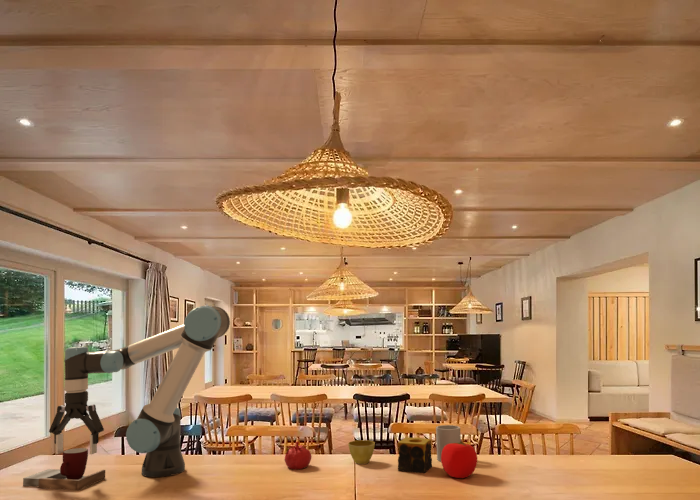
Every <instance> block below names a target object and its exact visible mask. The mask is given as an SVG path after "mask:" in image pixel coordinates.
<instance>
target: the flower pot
mask: <svg viewBox="0 0 700 500" xmlns="http://www.w3.org/2000/svg"><path fill="white" fill-rule="evenodd" d="M375 443H376V442H375V441H373V440H365V439H363V440H361V439H360V440H352V441H350V442H349V441H348V443H347V445H348V449H349V453H350V456H351V458H352V460H353V462H354V463H355V464H358V465H365V464H368V463H369V462H370V460H371V459H372V457H373V453H374V450H375V446H376V444H375Z"/></svg>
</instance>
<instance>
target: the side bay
mask: <svg viewBox="0 0 700 500" xmlns="http://www.w3.org/2000/svg"><path fill="white" fill-rule="evenodd" d="M105 479H106V469H100V470H99V471H96V472H94V473H92V474H88V475H83V476H82V478H81V479H79V480H73V479H67V478H66V476H63V475H61V473H60V468H59V469H58V468H57V469H56V468H54V469H53V468H47V469H44V470H42V471H39V472H36V473H34V474H30V475H29V476H25V477H23V479H22V486H24V487H38V489H51V490H68V491H81V490H83V489H84V488H86V487H90V486H91V485H93V484H96V483H98V482H100V481H103V480H105Z"/></svg>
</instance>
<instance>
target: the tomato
mask: <svg viewBox="0 0 700 500" xmlns="http://www.w3.org/2000/svg"><path fill="white" fill-rule="evenodd" d="M477 463H478V454H477V451H476V449H475V448H474V447H473V446H472V445H471V444H470V443H466V442H463V441H462V440H461V441H460V443H450V444H447V445H446V446H444V448H443V450H442V454H441V466H442V468H443V470H444V472H445V473H446V474H447V475H448V476H449V477H452V478H456V479H464V478H467V477H470V476H471V475H472V474H473V473H474V472H475V470H476V468H477V465H478V464H477Z"/></svg>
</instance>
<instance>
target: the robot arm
mask: <svg viewBox="0 0 700 500" xmlns="http://www.w3.org/2000/svg"><path fill="white" fill-rule="evenodd" d="M230 325H231V319H230V316H229V314H228V313H227V311H226V310H225V309H223V308H221V307H219V306H210V305H200V306H197V307H195V308H193V309H191V310H190V311H189V312H188V313H187V315H186V316H185V318H184V322H183V324H181V325H179V326H176V327H174V328H171V329H168V330H165V331H163V332H161V333H158V334H155V335H152V336H150V337H147V338H144V339H142V340H139V341H137V342H135V343H131V344H129V345H126V346H124V347H123V346H122V347H121V348H118V349H112V350H104V351H89V348H88V346H72V347H70V346H69V347H67V348H66V349H65V351H64V361H63V362H64V390H63V391H65V393H64V404H61V405H57V408H56V413H55V416H54V418H53V419H52V423H51V426H50V427H49V431H48V432H49V433H52V434H53V435H54V439H53V441H54V444H55V455H59V454H63V451H64V433H63V430H64V429H65V427H66V426H67V425H68V424H69V422H70V421H71V420H72V419H73V420H74V419H77V420H81V421H82V422H83V424H84V425H85V426H86V427H87V428H88V430H89V431H90V433H91V434H89V455H94V454H97V453H98V443H99V442H100V441H99V437H100V435H99V434H100V433H102V432H104V431H105V428H104V426H103V424H102V421H101V420H100V416H99V415H98V411H97V408H96V404H90V405H88V401H89V391H88V389H89V374H90V375H91V374H112V373H113V374H114V373H119V372H120V371H121V370H127V369H130V367H132V366H134V365H137V364H139V363H143V362H145V361H147V360H151V359H153V358H155V357H158V356H161V355H163V354H166V353H168V352H171V351H174V350H177V351H176V352H175V355H174V357H173V359H172V360H171V363H170V365H169V367H168V368H167V371H166V372H165V373H164V377H163V378H162V380H161V381H160V383H159V386H158V387H157V389H156V391H155V393H154V395H153V397H152V400H151V401H150V403H147V404H146V405H143V407H142V409H141V410H140V412H139V414H138V416H137V418H136V419H135V420H133V421H132V422H131V423H130V424H129V425H128V427H127V429H126V432H125V439H126V441H127V444H128V446H129V447H130V448H131V449H132V450H133V451H134V452H137V453H139V454H145V456H144V460H143V463H142V466H141V475H142V476H144V477H149V478H160V477H161V478H162V477H163V478H164V477H171V476H175V475H179V474H181V473H183V472H184V471H185V470H186V463H185V459H184V456H183V454H182V451H181V424H182V423H181V422H182V421H181V420H182V416H181V409H180V408H179V407H178V405H179V403H180V401H181V399H182V397H183V395H184V393H185V391H186V389H187V388H188V385H189V383H190V382H191V380H192V378H193V377H194V376H193V375H195V373H196V370H197V368H198V366H199V365H200V363H201V360H202V359H203V357H204V354H205V353H206V352H209V351H211V350H212V348H213V347H214V345H215V343H216V341H217V339H219V338H221V337H222V336H224V335H225V334H226V333H227V332H228V331H229V329H230Z"/></svg>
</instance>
